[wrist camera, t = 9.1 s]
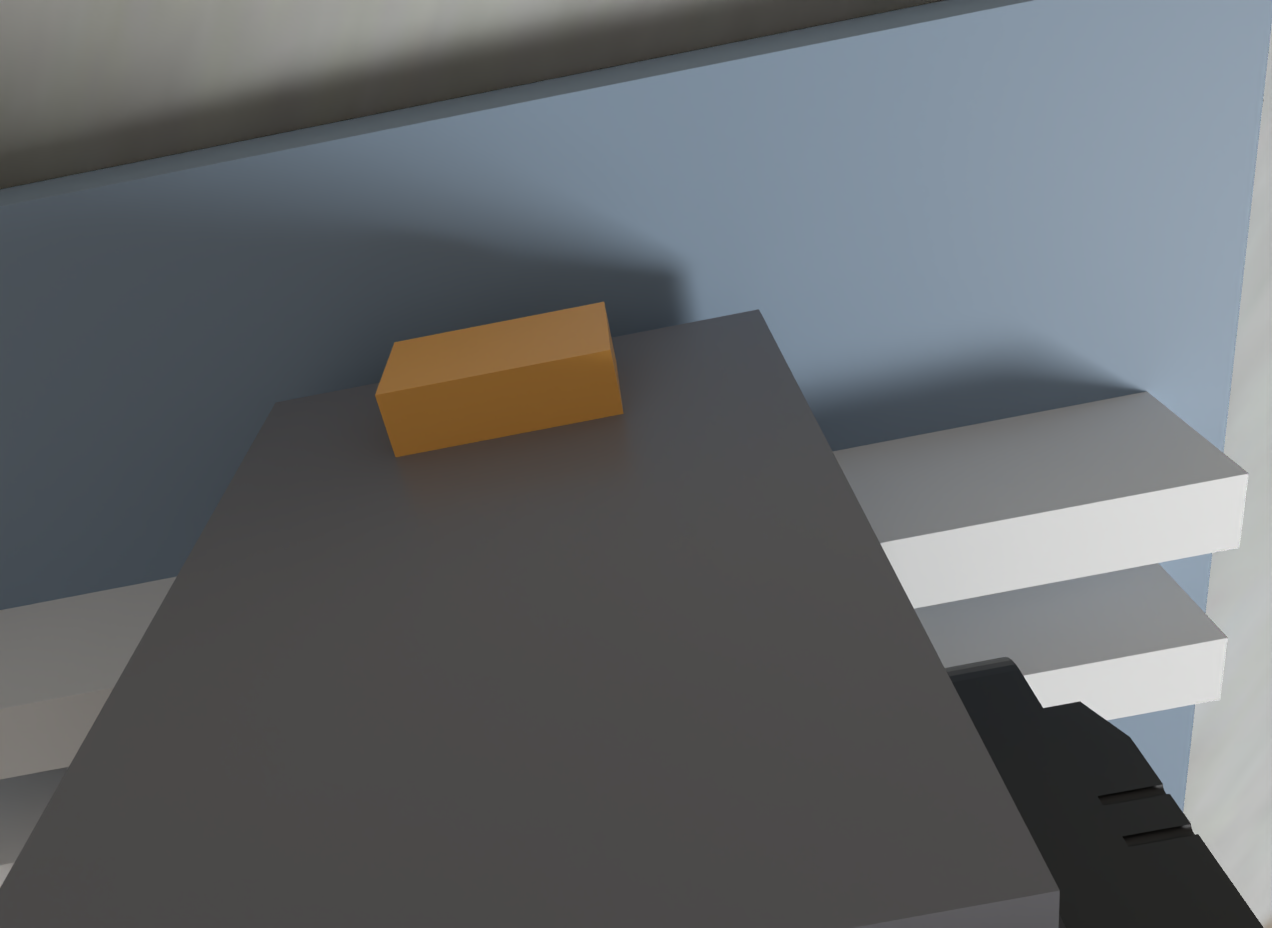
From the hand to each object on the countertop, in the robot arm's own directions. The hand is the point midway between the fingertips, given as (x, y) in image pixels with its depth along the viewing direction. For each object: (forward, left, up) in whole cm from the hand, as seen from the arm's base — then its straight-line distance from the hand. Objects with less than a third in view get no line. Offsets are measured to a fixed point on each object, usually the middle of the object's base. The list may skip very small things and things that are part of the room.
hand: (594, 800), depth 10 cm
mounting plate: (0, -3, -4) cm, 5 cm away
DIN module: (0, 0, -2) cm, 2 cm away
